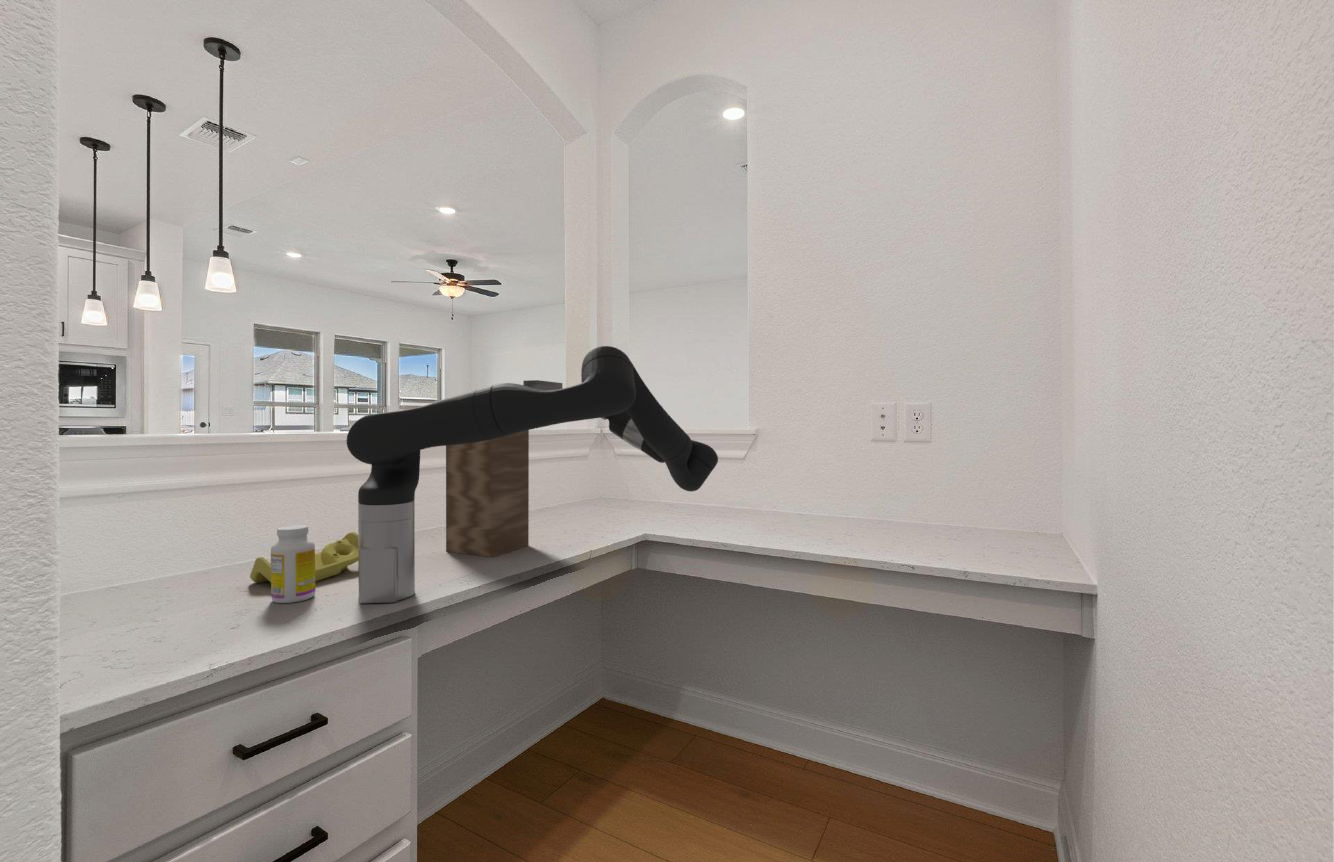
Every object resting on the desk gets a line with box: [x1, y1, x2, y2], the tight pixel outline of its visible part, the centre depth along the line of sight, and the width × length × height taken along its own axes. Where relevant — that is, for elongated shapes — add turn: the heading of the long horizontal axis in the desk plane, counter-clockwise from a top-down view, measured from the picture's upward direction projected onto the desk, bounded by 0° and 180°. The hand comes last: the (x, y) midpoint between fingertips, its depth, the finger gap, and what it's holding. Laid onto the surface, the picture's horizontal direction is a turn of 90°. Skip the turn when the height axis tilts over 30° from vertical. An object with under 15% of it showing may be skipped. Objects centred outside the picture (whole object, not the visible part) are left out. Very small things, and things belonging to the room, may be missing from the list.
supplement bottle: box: [270, 524, 316, 604], centre depth 103 cm, size 7×7×13 cm
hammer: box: [522, 379, 563, 390], centre depth 134 cm, size 18×10×5 cm, turn 67°
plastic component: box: [249, 531, 358, 584], centre depth 118 cm, size 20×7×10 cm
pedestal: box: [445, 430, 530, 558], centre depth 144 cm, size 14×14×30 cm
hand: (577, 389), depth 133 cm, fingers closed on hammer, 3 cm apart
